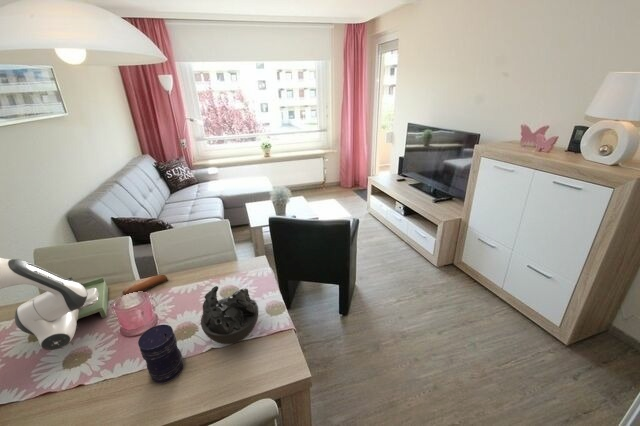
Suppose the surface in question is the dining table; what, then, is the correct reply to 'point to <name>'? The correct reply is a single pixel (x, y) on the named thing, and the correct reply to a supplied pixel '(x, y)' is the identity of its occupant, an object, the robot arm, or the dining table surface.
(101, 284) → the sage green riser
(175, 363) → the storage jar
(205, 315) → the bowl of black rocks
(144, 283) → the brown rounded bar
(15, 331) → the dining table surface
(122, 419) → the dining table surface
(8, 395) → the dining table surface
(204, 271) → the dining table surface
